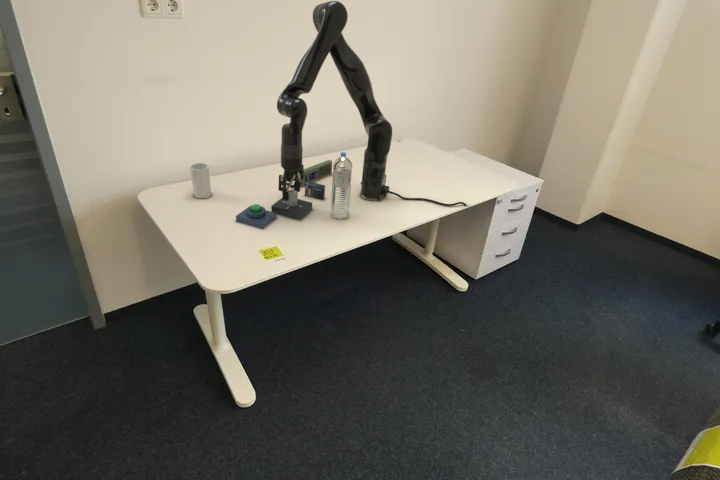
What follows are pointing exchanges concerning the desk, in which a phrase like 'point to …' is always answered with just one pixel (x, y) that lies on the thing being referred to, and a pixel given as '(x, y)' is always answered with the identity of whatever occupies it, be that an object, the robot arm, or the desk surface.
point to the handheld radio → (316, 172)
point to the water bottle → (341, 187)
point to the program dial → (293, 198)
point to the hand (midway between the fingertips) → (291, 195)
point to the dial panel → (292, 209)
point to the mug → (200, 180)
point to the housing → (256, 217)
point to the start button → (255, 208)
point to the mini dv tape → (314, 190)
